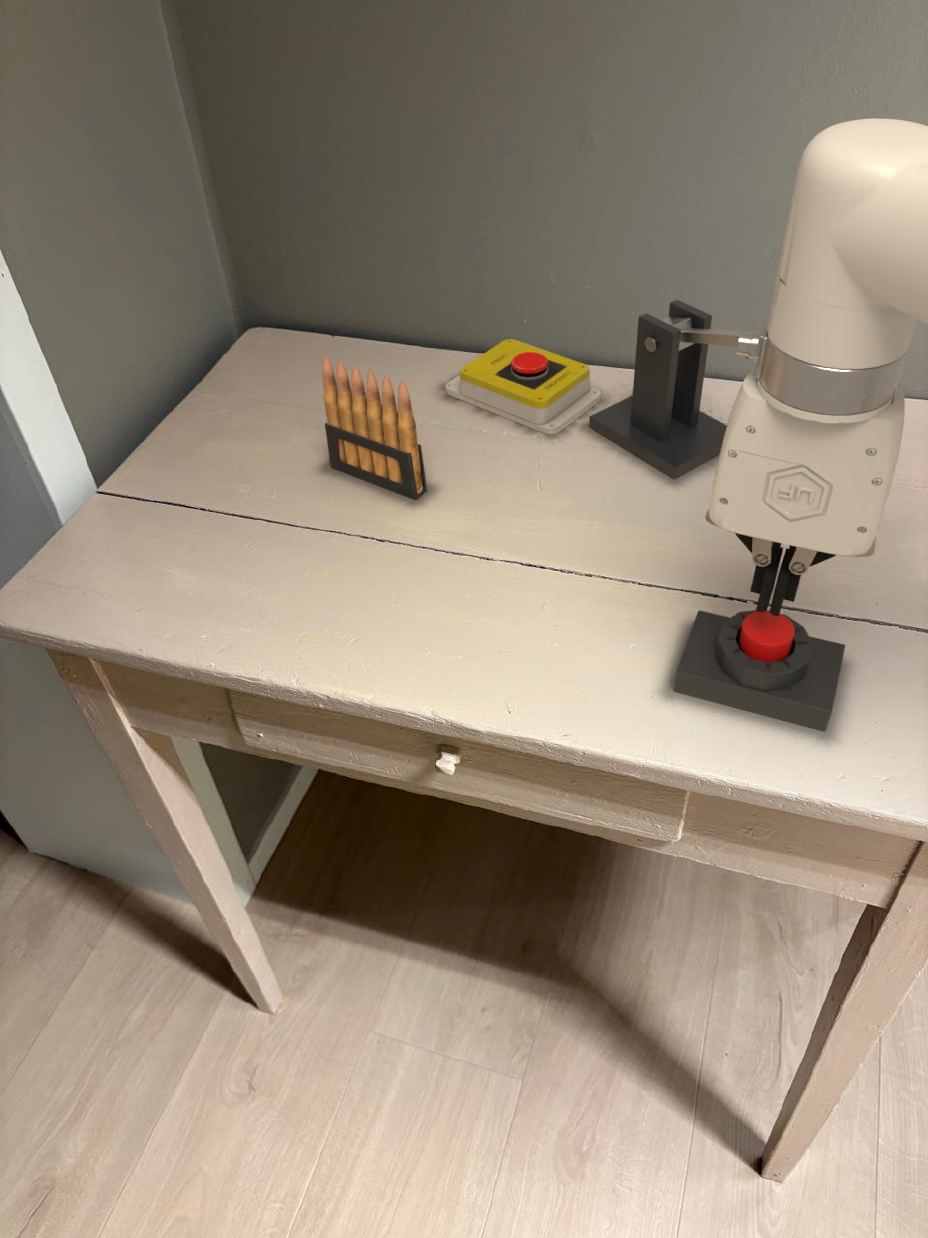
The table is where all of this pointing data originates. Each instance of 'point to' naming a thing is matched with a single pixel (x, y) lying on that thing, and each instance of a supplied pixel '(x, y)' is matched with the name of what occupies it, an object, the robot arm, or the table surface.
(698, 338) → the tap lever
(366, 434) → the ammunition clip
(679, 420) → the lever stand
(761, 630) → the red button
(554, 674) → the table surface
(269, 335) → the table surface
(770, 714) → the button block
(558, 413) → the emergency button
